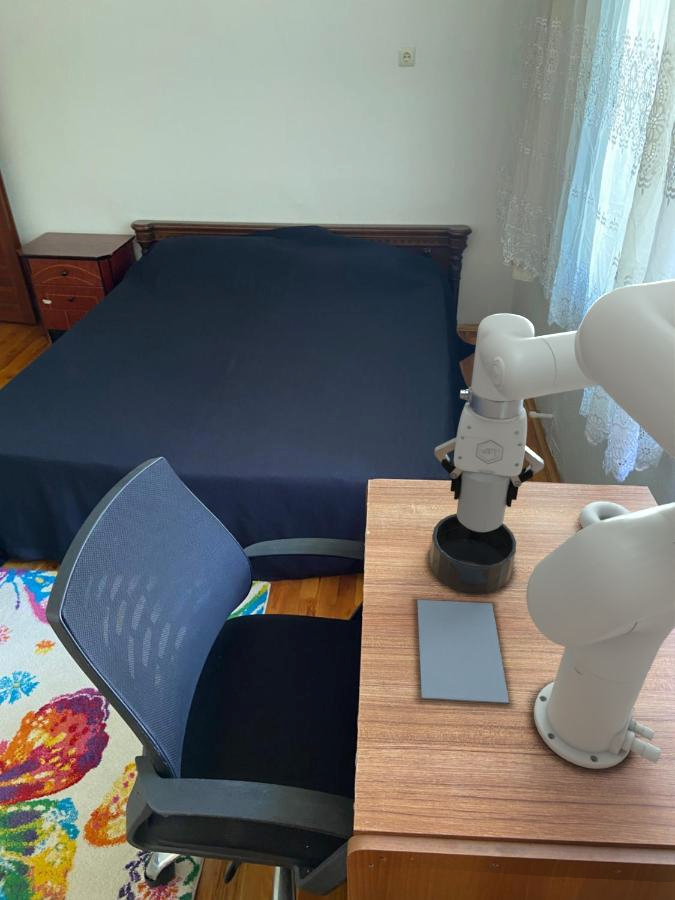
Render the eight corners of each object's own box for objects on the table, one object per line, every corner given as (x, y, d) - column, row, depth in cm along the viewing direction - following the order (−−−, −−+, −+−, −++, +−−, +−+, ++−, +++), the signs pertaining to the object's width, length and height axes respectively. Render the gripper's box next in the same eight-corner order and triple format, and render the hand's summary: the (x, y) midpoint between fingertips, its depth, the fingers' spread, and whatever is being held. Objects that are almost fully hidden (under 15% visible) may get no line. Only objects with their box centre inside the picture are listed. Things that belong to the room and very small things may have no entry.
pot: (522, 556, 113) (528, 531, 109) (491, 607, 103) (496, 580, 100) (451, 527, 119) (454, 502, 116) (415, 572, 110) (418, 546, 106)
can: (496, 505, 108) (506, 445, 101) (508, 534, 101) (518, 472, 95) (452, 506, 108) (458, 446, 101) (460, 536, 101) (468, 474, 95)
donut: (641, 549, 114) (626, 512, 122) (646, 535, 112) (631, 498, 120) (583, 546, 115) (572, 509, 123) (588, 531, 113) (576, 495, 121)
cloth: (417, 600, 104) (417, 599, 104) (491, 604, 104) (492, 603, 103) (421, 698, 90) (421, 697, 89) (508, 703, 89) (509, 702, 89)
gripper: (432, 406, 91) (424, 504, 101) (560, 420, 88) (539, 520, 97) (438, 383, 97) (430, 477, 107) (558, 395, 94) (538, 491, 103)
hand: (482, 497), depth 102 cm, fingers closed on can, 7 cm apart
